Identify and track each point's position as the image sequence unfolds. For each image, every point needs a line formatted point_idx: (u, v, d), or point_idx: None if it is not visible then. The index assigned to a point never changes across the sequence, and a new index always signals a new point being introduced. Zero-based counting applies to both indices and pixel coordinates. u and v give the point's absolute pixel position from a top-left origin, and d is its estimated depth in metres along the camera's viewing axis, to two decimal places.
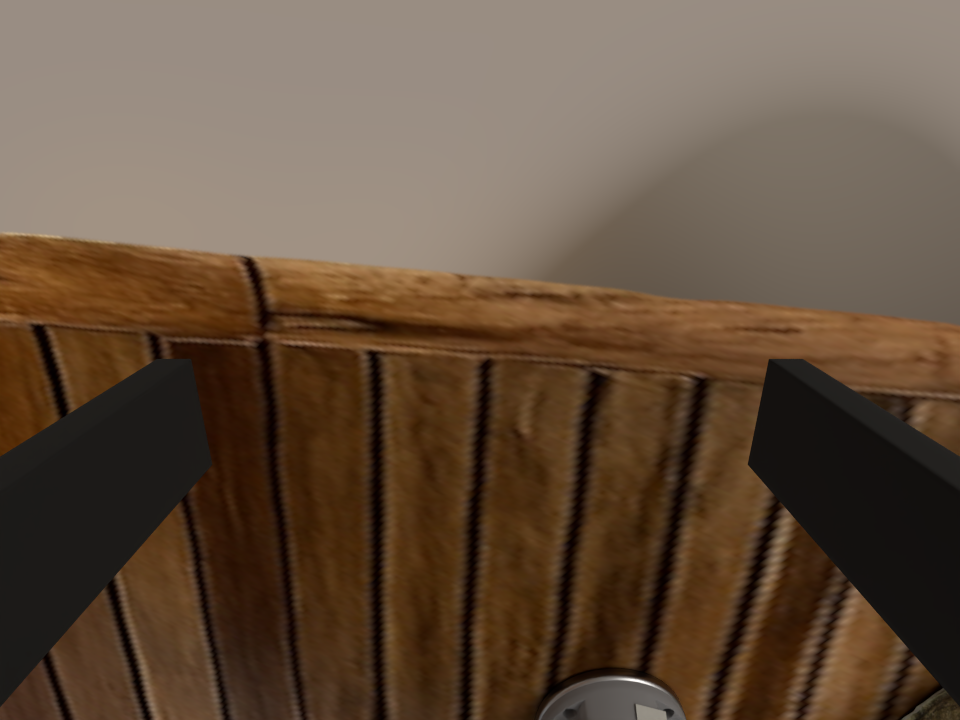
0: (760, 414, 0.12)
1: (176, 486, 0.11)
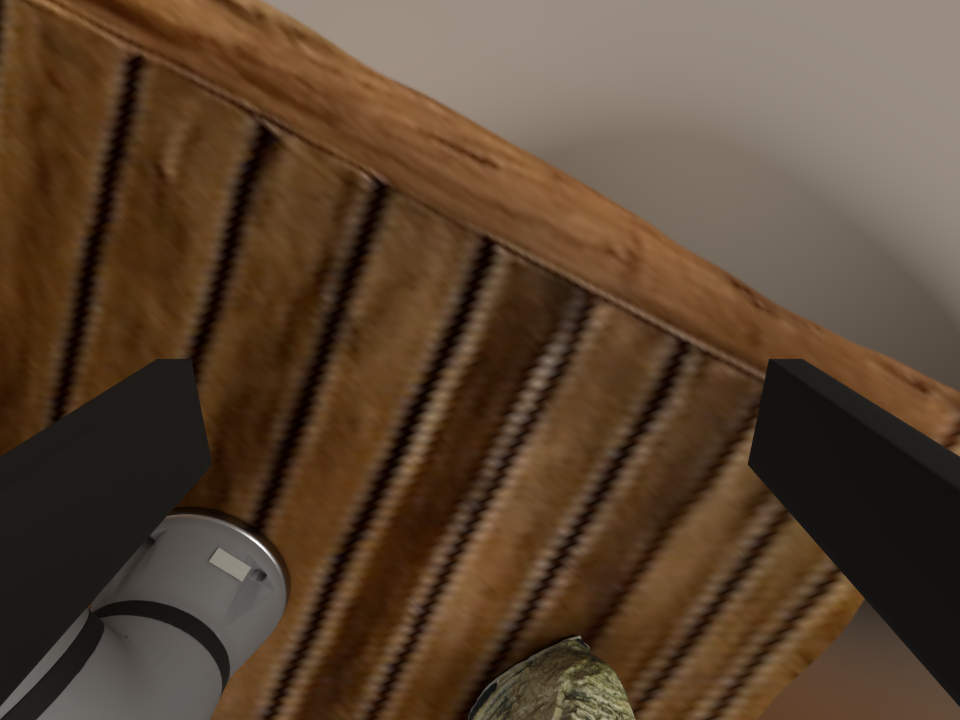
0: (760, 414, 0.12)
1: (176, 486, 0.11)
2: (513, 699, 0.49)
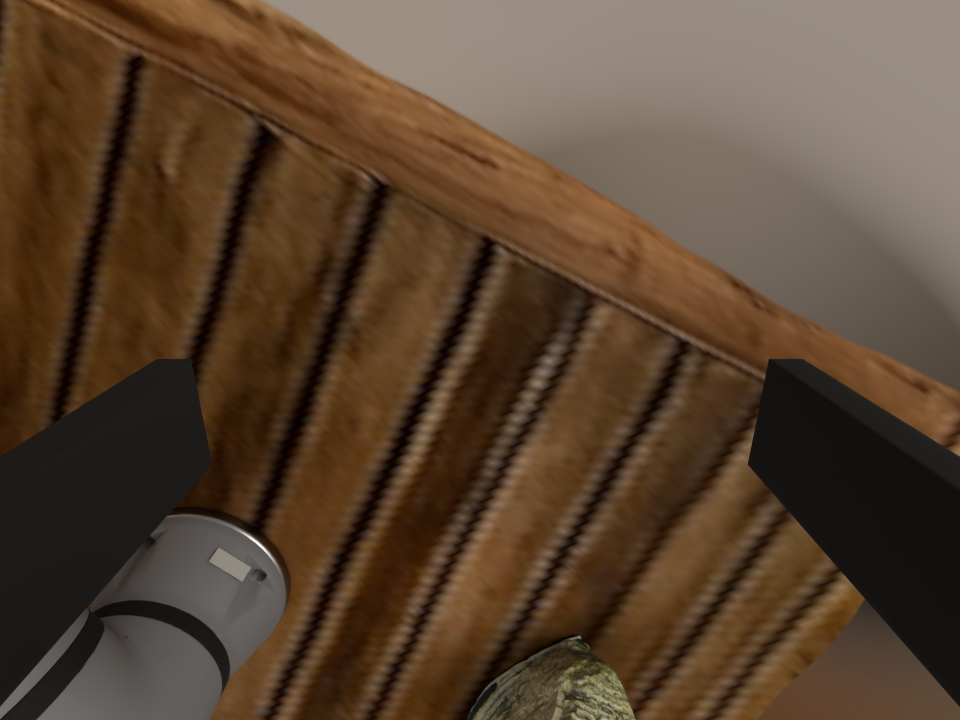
0: (760, 414, 0.12)
1: (176, 486, 0.11)
2: (513, 699, 0.49)
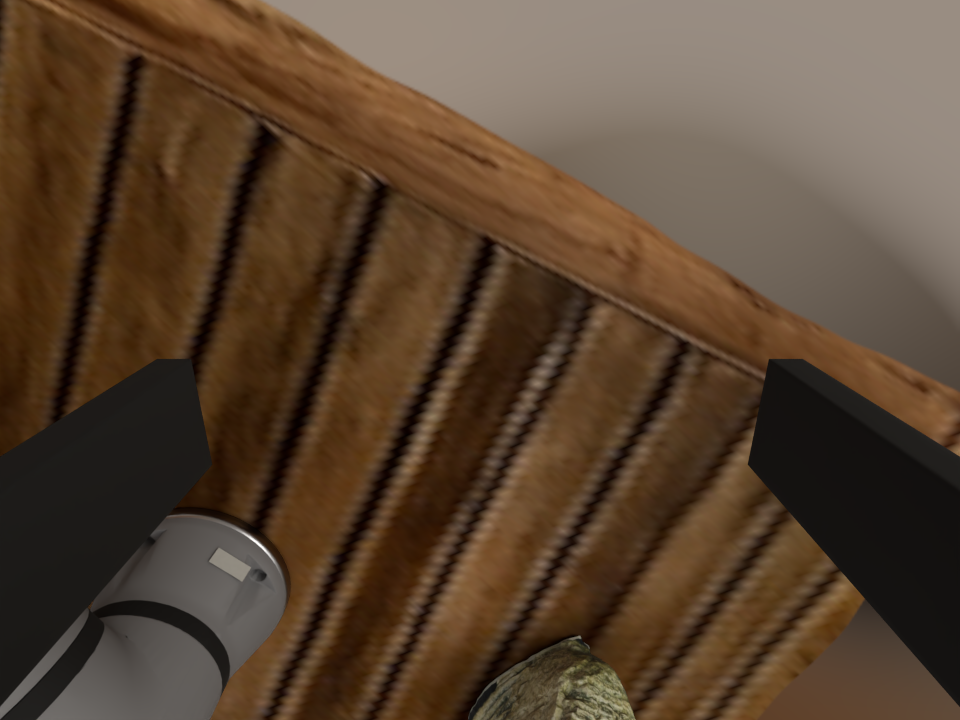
0: (760, 414, 0.12)
1: (176, 486, 0.11)
2: (513, 699, 0.49)
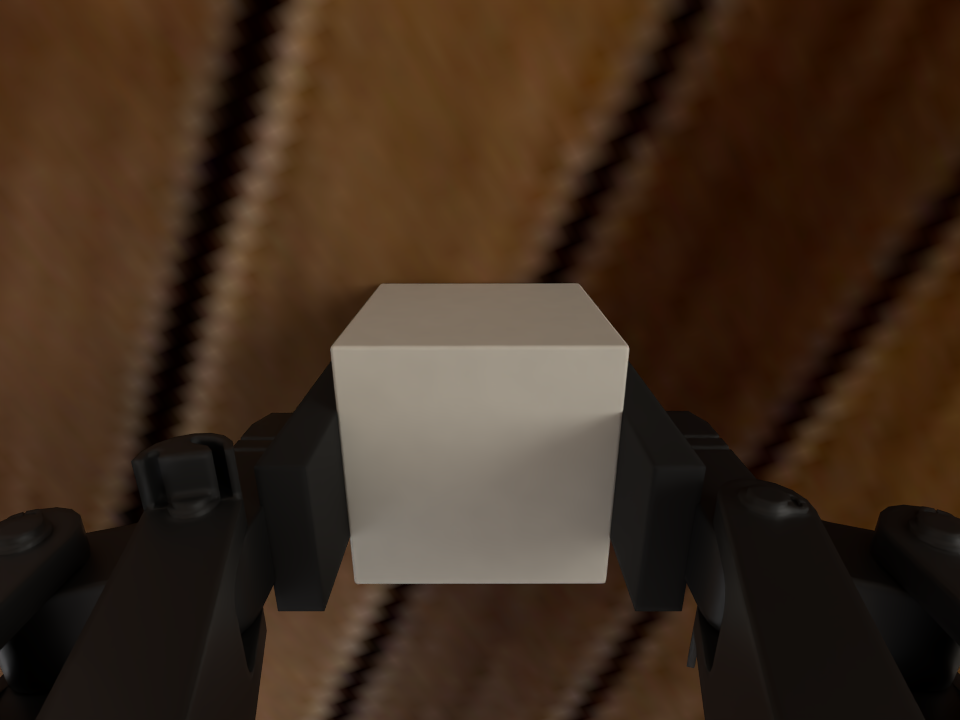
0: None
1: None
2: None
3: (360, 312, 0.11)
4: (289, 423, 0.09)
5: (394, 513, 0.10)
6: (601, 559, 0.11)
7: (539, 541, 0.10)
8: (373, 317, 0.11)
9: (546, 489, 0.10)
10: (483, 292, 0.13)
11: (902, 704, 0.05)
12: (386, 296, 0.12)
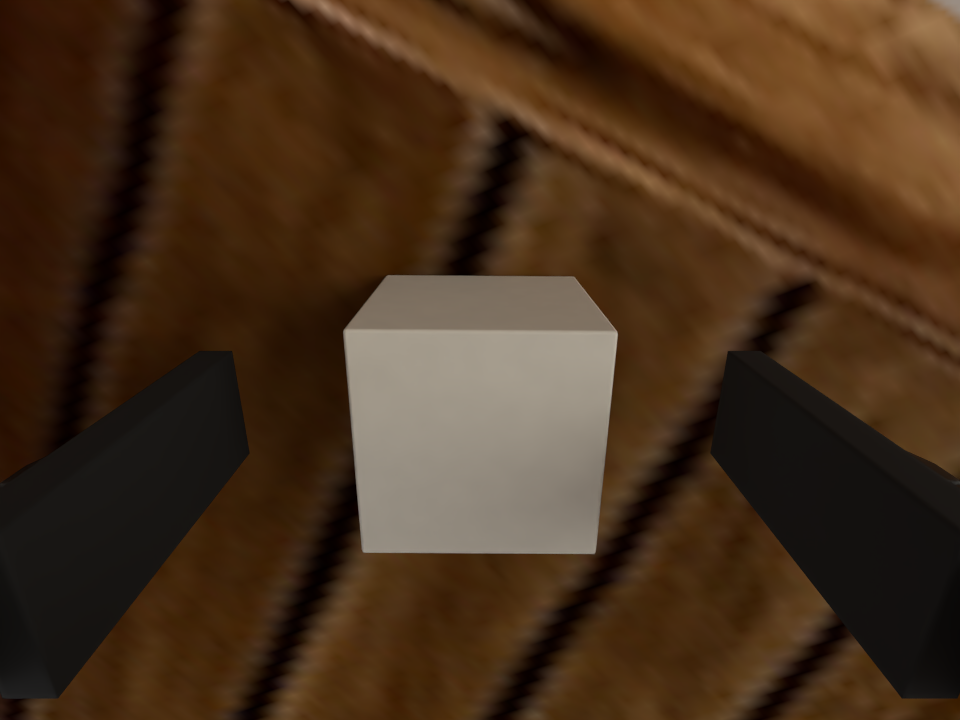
0: (720, 404, 0.13)
1: (220, 473, 0.12)
2: None
3: (369, 300, 0.12)
4: (28, 471, 0.08)
5: (400, 485, 0.11)
6: (591, 531, 0.11)
7: (534, 513, 0.11)
8: (381, 304, 0.12)
9: (540, 464, 0.11)
10: (483, 283, 0.14)
11: None
12: (392, 286, 0.13)
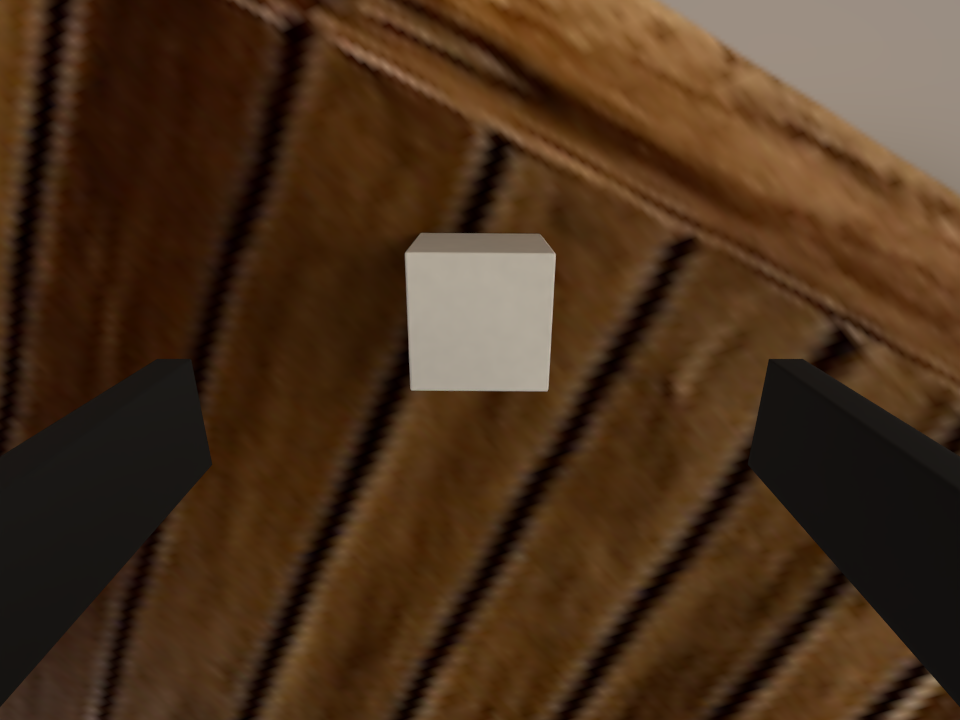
0: (759, 414, 0.12)
1: (176, 487, 0.11)
2: None
3: (414, 242, 0.20)
4: None
5: (433, 346, 0.19)
6: (545, 375, 0.20)
7: (511, 364, 0.19)
8: (422, 244, 0.20)
9: (514, 333, 0.19)
10: (482, 236, 0.22)
11: None
12: (426, 237, 0.21)
